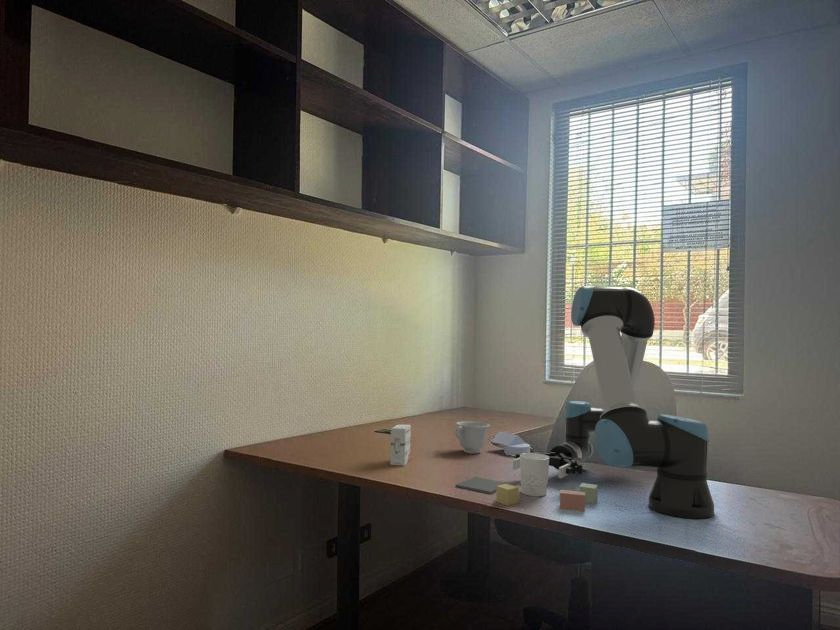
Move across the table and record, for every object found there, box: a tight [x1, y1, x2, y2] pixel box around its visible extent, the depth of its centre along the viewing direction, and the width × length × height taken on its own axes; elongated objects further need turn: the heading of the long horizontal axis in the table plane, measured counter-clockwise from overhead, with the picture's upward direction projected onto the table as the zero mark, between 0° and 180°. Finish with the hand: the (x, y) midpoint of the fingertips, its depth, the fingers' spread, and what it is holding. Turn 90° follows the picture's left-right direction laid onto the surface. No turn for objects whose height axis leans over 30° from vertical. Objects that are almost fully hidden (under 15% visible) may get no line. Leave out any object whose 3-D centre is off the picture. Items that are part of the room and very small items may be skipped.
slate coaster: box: [455, 476, 510, 495], centre depth 166 cm, size 11×11×1 cm
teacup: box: [454, 420, 491, 454], centre depth 210 cm, size 12×15×10 cm
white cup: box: [519, 452, 550, 497], centre depth 160 cm, size 8×8×10 cm
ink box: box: [389, 424, 412, 467], centre depth 191 cm, size 9×5×12 cm, turn 168°
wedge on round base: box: [491, 430, 531, 456], centre depth 211 cm, size 9×7×13 cm
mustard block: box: [495, 483, 520, 506], centre depth 152 cm, size 4×4×4 cm
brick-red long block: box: [559, 489, 586, 512], centre depth 148 cm, size 6×3×4 cm, turn 75°
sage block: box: [578, 482, 599, 505], centre depth 155 cm, size 4×4×4 cm
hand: (536, 468), depth 163 cm, fingers open, 13 cm apart
